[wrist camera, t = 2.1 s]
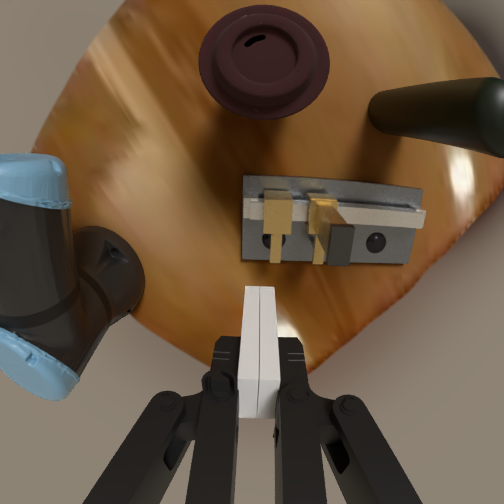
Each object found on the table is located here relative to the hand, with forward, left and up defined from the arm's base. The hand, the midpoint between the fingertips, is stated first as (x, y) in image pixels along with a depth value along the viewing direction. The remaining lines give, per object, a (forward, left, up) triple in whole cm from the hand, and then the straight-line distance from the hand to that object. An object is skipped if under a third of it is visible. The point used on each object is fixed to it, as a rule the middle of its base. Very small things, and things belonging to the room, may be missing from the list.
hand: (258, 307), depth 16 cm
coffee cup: (0, +15, -23) cm, 27 cm away
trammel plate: (+10, -2, -22) cm, 24 cm away
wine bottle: (+16, +13, -23) cm, 30 cm away
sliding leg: (+7, -2, -21) cm, 22 cm away
